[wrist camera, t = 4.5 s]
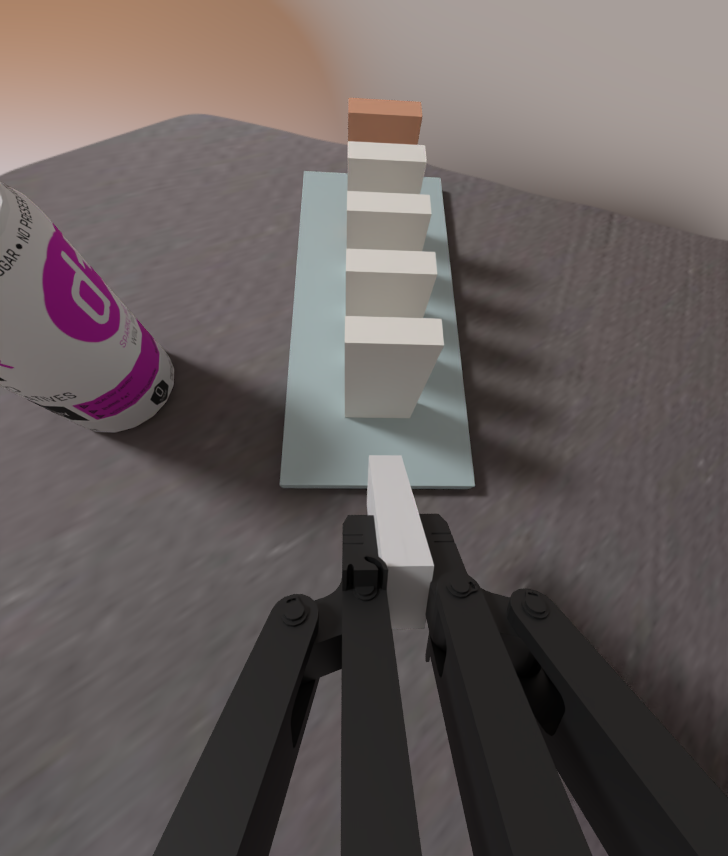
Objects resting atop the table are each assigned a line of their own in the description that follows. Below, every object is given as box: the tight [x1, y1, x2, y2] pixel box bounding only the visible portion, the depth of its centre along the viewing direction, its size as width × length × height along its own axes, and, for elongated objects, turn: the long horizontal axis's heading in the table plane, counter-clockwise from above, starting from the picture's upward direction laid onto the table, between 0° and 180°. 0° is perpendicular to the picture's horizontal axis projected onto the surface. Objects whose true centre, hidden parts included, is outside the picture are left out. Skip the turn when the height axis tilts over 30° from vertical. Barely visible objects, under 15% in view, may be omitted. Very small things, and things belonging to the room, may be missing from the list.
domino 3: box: [347, 191, 432, 251], centre depth 26 cm, size 2×5×10 cm, turn 90°
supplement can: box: [0, 182, 174, 433], centre depth 21 cm, size 8×8×15 cm
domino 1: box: [348, 98, 422, 145], centre depth 29 cm, size 2×5×10 cm, turn 90°
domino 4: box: [346, 249, 437, 318], centre depth 24 cm, size 2×5×10 cm, turn 90°
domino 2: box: [347, 141, 427, 194], centre depth 27 cm, size 2×5×10 cm, turn 90°
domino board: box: [280, 171, 475, 489], centre depth 31 cm, size 14×32×1 cm, turn 0°
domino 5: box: [345, 316, 444, 418], centre depth 23 cm, size 2×5×10 cm, turn 90°
